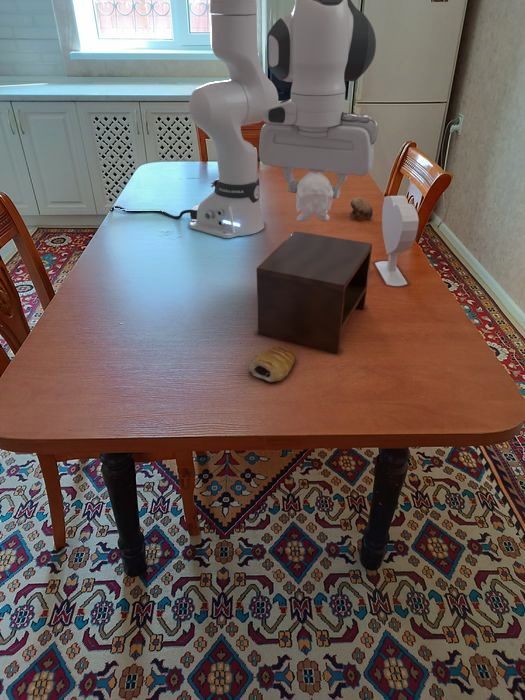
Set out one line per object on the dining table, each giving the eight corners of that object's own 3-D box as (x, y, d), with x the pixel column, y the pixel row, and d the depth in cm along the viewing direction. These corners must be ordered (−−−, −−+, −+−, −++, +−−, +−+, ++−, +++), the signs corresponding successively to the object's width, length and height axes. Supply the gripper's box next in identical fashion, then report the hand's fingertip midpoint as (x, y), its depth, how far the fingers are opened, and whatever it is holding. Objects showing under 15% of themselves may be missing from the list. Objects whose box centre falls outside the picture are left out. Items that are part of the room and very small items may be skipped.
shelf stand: (258, 334, 100) (256, 267, 91) (293, 291, 114) (294, 230, 105) (337, 354, 94) (344, 285, 85) (364, 307, 108) (372, 243, 99)
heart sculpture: (410, 287, 115) (424, 213, 104) (389, 288, 114) (400, 214, 104) (391, 258, 127) (402, 189, 117) (372, 259, 127) (381, 190, 116)
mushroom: (341, 209, 147) (354, 192, 145) (346, 211, 155) (359, 194, 152) (361, 226, 146) (375, 209, 144) (365, 227, 154) (378, 211, 151)
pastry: (274, 349, 95) (274, 333, 93) (304, 361, 92) (305, 345, 90) (246, 374, 89) (245, 358, 87) (277, 388, 86) (277, 371, 84)
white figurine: (298, 176, 81) (291, 162, 91) (297, 226, 85) (291, 208, 96) (335, 175, 81) (325, 162, 91) (333, 225, 85) (323, 207, 96)
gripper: (384, 111, 79) (374, 196, 87) (269, 104, 86) (270, 183, 94) (374, 119, 75) (364, 207, 83) (254, 110, 82) (256, 192, 90)
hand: (313, 194), depth 89 cm, fingers closed on white figurine, 6 cm apart
